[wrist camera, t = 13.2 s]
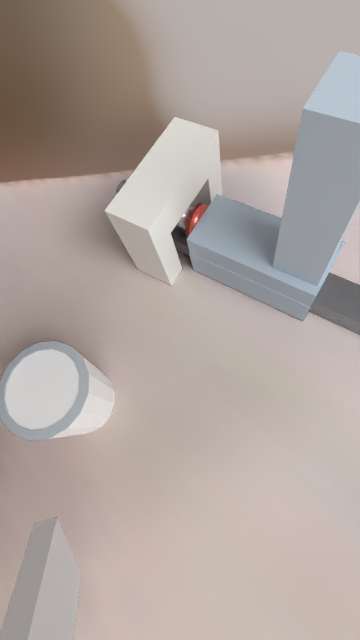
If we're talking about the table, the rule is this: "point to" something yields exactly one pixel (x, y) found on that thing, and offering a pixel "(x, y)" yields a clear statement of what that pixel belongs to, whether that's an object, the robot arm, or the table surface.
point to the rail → (331, 301)
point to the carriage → (293, 206)
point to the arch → (166, 195)
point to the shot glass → (54, 393)
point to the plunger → (185, 214)
